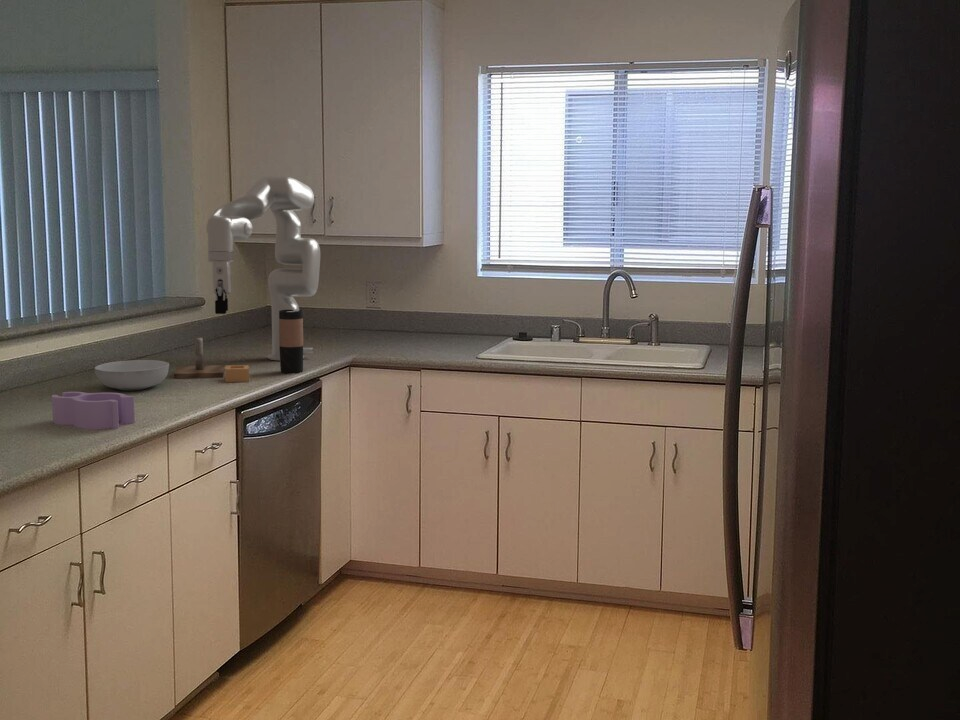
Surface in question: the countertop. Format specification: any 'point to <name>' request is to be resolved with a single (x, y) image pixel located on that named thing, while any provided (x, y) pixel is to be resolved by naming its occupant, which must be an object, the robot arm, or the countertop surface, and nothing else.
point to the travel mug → (291, 341)
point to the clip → (93, 410)
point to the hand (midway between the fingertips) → (221, 312)
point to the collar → (237, 373)
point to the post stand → (199, 366)
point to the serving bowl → (132, 374)
